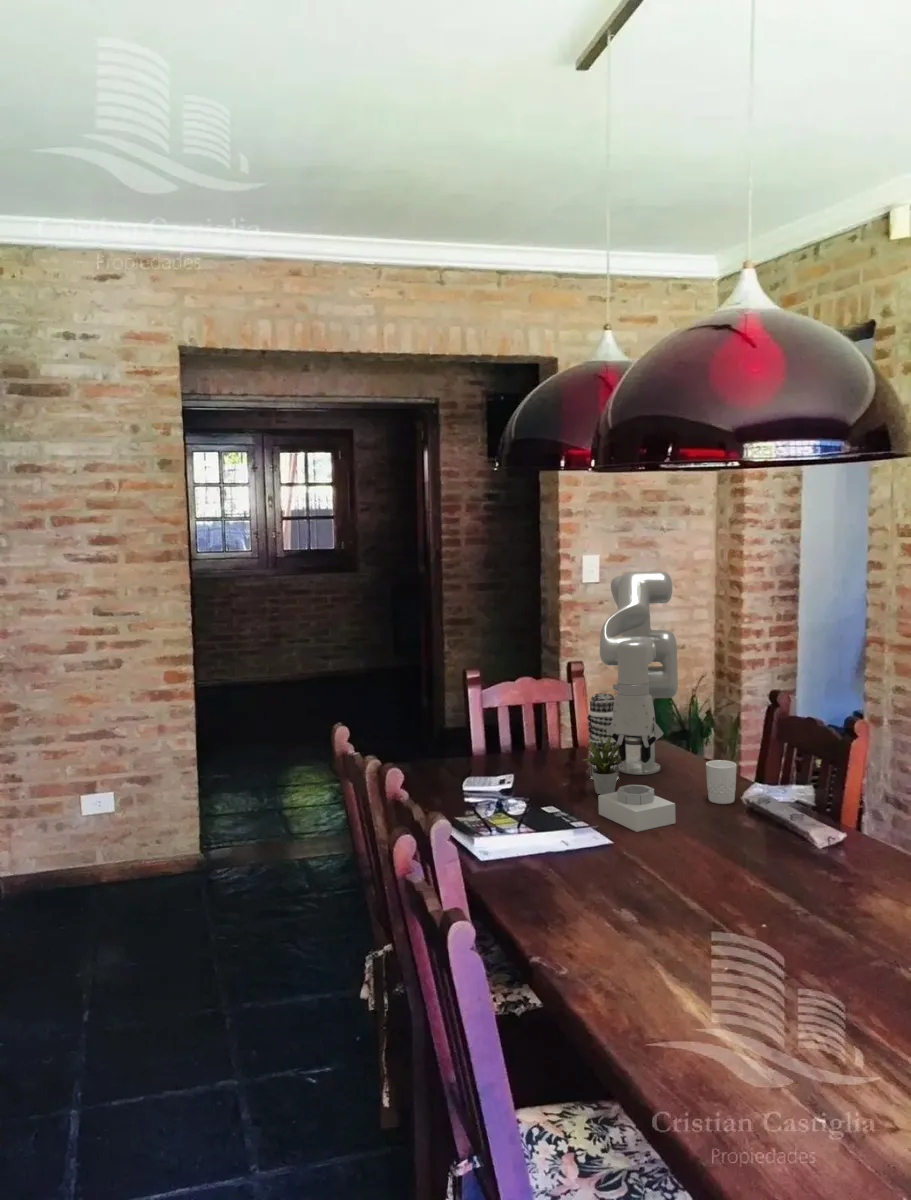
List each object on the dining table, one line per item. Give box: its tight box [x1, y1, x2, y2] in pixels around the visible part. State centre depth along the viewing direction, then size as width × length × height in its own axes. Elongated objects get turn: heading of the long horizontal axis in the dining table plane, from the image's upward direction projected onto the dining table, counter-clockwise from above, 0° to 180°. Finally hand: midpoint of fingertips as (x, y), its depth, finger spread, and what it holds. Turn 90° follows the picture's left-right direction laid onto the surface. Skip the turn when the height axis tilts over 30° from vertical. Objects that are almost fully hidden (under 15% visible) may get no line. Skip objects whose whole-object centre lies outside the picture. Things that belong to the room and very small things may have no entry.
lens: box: [624, 735, 645, 775], centre depth 233 cm, size 5×5×9 cm
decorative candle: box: [586, 692, 620, 782], centre depth 271 cm, size 9×9×25 cm
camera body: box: [597, 784, 677, 832], centre depth 235 cm, size 16×12×8 cm
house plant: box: [583, 736, 625, 795], centre depth 256 cm, size 14×14×16 cm
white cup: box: [705, 759, 737, 805], centre depth 247 cm, size 8×8×10 cm
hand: (635, 760), depth 233 cm, fingers closed on lens, 5 cm apart
